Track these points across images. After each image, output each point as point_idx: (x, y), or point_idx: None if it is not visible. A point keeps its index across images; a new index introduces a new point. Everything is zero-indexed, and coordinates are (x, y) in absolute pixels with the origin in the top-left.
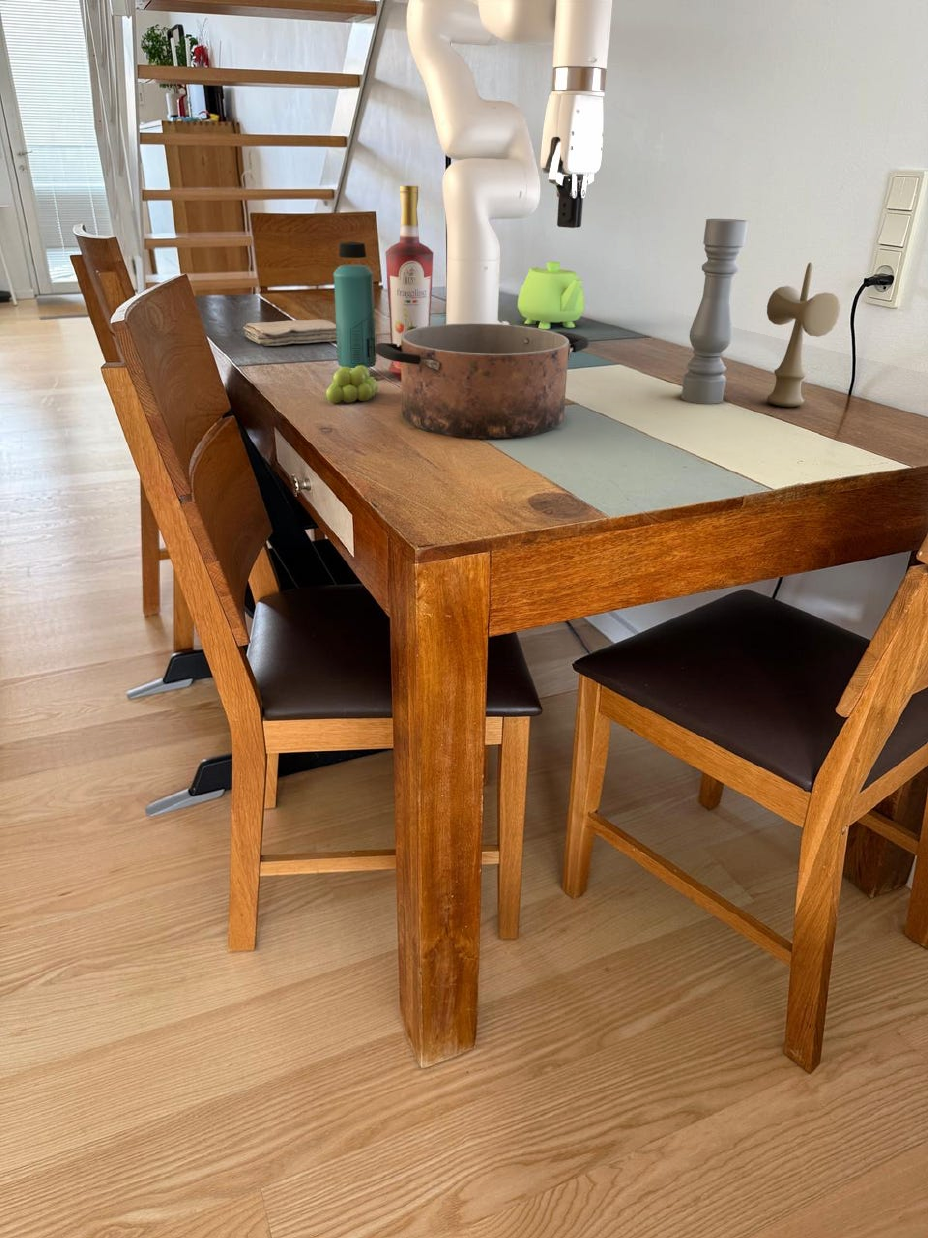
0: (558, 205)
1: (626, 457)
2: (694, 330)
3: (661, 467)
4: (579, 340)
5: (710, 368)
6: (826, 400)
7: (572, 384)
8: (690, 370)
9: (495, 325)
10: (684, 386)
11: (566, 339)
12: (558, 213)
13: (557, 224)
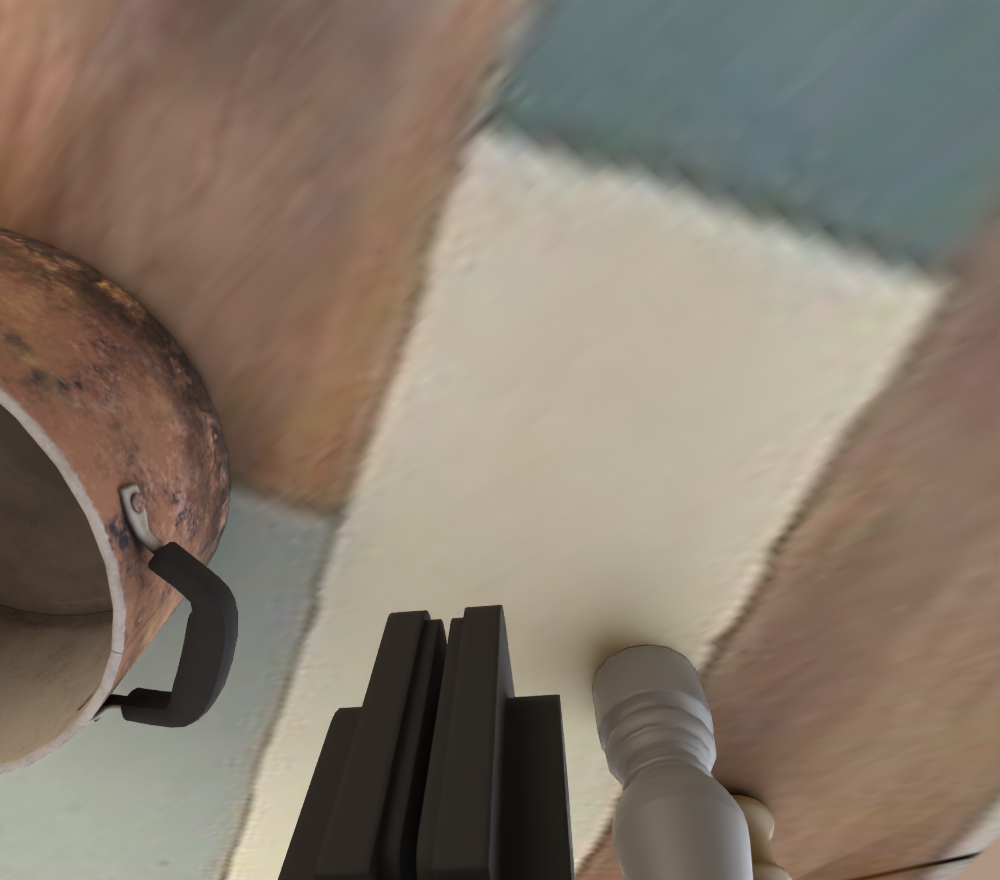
0: (348, 770)
1: (114, 789)
2: (626, 831)
3: (127, 843)
4: (165, 709)
5: (622, 783)
6: (844, 851)
7: (524, 370)
8: (611, 732)
9: (8, 408)
10: (609, 685)
11: (70, 730)
12: (367, 702)
13: (388, 619)
